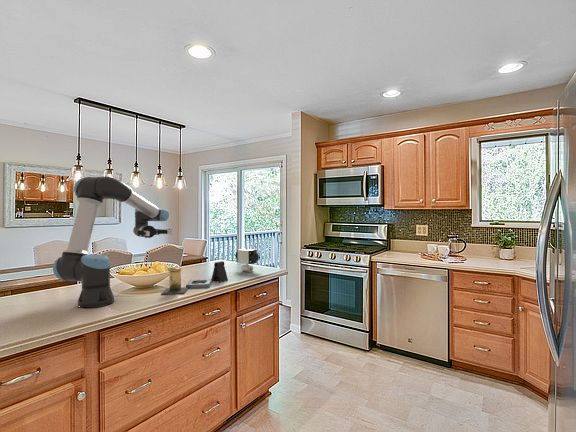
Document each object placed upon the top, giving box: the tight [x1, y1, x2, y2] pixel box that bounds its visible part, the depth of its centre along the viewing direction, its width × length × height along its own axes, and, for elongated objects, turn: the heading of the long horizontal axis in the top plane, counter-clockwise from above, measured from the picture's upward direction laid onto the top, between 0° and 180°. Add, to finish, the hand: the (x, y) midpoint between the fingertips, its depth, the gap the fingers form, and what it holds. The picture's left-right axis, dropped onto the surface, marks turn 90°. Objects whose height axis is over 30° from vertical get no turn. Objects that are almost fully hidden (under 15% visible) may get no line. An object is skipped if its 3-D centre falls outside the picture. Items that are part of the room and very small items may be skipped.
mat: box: [160, 286, 190, 296], centre depth 175 cm, size 12×12×1 cm
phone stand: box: [211, 260, 229, 283], centre depth 202 cm, size 9×6×12 cm, turn 56°
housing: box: [185, 278, 213, 289], centre depth 189 cm, size 14×13×2 cm
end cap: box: [167, 266, 182, 292], centre depth 174 cm, size 7×7×12 cm
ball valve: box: [234, 247, 259, 273], centre depth 231 cm, size 18×8×18 cm, turn 49°
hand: (161, 233), depth 181 cm, fingers open, 13 cm apart
